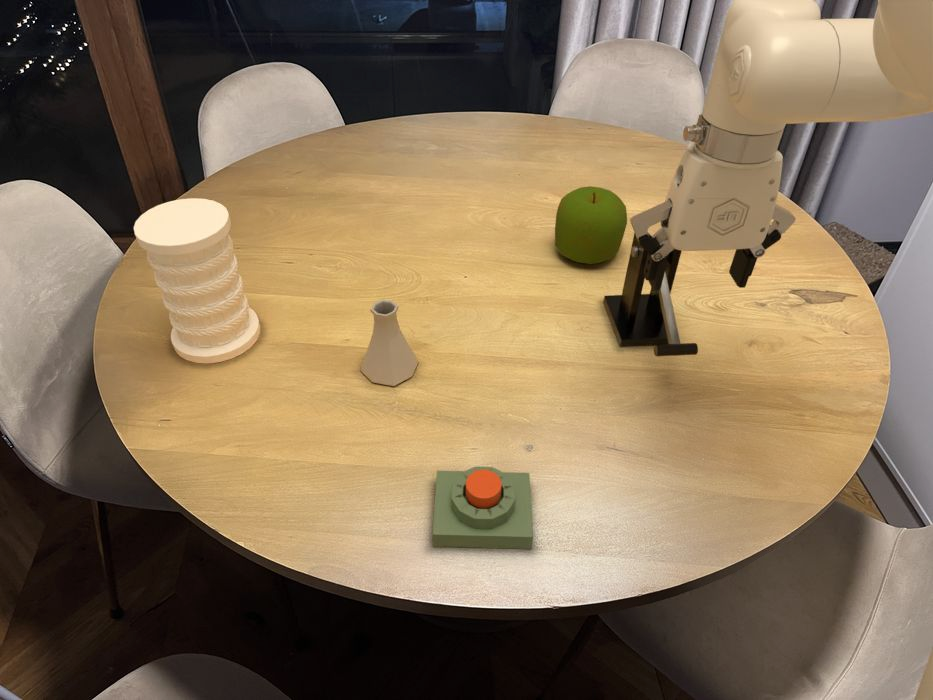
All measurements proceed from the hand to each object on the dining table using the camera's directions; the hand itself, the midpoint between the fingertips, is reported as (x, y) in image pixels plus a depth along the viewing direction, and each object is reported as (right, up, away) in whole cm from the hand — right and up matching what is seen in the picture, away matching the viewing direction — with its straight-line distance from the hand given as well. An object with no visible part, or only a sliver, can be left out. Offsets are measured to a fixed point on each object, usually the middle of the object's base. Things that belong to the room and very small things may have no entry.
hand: (694, 282), depth 76 cm
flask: (-36, -10, +13) cm, 39 cm away
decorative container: (-60, -6, +17) cm, 63 cm away
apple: (-6, +8, +33) cm, 35 cm away
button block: (-24, -25, -4) cm, 35 cm away
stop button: (-24, -22, -7) cm, 33 cm away
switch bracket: (-1, -4, +20) cm, 20 cm away
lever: (-1, -1, +10) cm, 11 cm away
